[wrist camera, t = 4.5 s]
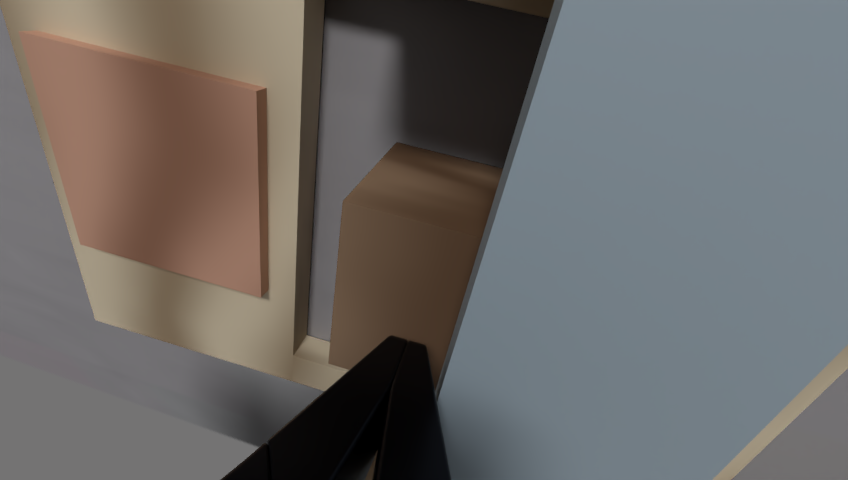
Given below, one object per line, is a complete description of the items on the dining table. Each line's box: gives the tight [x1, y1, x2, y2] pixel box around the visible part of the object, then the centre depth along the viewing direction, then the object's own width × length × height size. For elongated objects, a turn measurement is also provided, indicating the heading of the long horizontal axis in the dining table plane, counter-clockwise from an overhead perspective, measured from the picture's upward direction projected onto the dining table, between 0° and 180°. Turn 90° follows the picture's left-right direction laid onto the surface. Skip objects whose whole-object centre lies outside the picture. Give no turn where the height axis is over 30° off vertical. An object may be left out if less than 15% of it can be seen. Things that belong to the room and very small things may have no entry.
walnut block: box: [328, 142, 503, 390], centre depth 12 cm, size 5×5×4 cm
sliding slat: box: [435, 0, 848, 480], centre depth 8 cm, size 5×16×2 cm, turn 169°
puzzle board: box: [0, 0, 848, 480], centre depth 12 cm, size 26×16×5 cm, turn 79°
